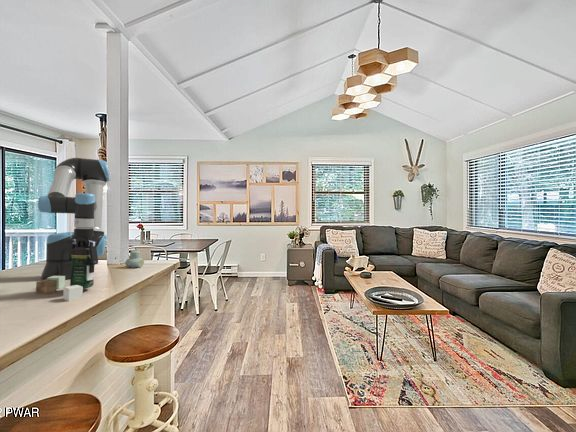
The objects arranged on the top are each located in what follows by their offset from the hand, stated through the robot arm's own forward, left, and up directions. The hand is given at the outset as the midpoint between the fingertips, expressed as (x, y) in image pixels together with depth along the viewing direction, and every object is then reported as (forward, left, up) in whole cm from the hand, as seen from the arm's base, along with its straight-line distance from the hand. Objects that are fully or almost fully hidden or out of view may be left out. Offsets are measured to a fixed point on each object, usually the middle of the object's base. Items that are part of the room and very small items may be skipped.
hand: (82, 278), depth 147 cm
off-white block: (+9, -10, -6) cm, 15 cm away
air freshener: (-30, +55, -6) cm, 63 cm away
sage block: (-15, -2, -6) cm, 16 cm away
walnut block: (-10, -9, -6) cm, 15 cm away
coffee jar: (0, 0, -4) cm, 4 cm away
